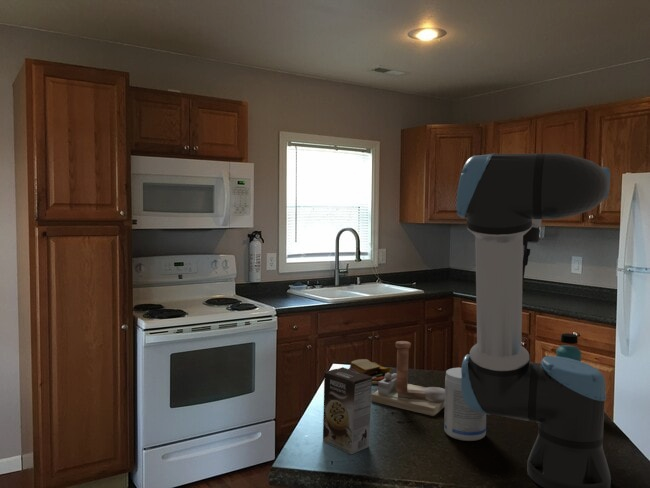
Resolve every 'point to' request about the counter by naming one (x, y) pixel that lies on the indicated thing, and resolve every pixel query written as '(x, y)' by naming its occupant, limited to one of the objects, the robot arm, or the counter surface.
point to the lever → (402, 378)
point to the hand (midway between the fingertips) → (513, 315)
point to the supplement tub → (461, 411)
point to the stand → (390, 397)
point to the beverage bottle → (569, 347)
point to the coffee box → (347, 409)
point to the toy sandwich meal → (370, 369)
